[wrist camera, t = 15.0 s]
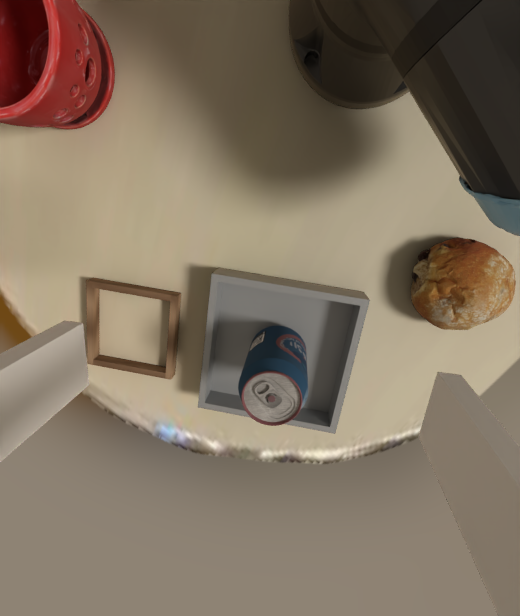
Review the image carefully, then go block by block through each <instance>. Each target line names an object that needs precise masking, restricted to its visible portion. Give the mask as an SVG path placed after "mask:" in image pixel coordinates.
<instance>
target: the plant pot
mask: <svg viewBox="0 0 520 616" xmlns="http://www.w3.org/2000/svg"><path fill="white" fill-rule="evenodd" d="M114 78H115V71H114V62H113V57H112V53H111V50H110V47H109V45H108V42H107V40H106V38H105V36H104V34H103V32H102V31H101V29H100V28H99V26H98V25H97V24H96V22H95V21H94V20H93V19H92V18H91V16H89V15H88V14H87V13H86V12H85V11H84V10H83V9H82V8H80V6H79V5H78V3H77V2H76V0H0V123H5V124H10V125H16V126H26V127H56V128H60V129H77V128H81V127H84V126H87V125H89V124H90V123H92V122H93V121H95V120H96V119H97V118H98V117H99V116H100V115H101V114H102V113H103V112H104V110H105V109H106V107H107V105H108V103H109V101H110V99H111V96H112V92H113V88H114Z"/></svg>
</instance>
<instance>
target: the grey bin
mask: <svg viewBox="0 0 520 616" xmlns="http://www.w3.org/2000/svg"><path fill="white" fill-rule="evenodd" d="M369 301H370V300H369V298H368V297H367V296H366V294H365V293H364V292H361V291H355V290H349V289H343V288H337V287H331V286H325V285H319V284H313V283H307V282H301V281H295V280H289V279H283V278H277V277H271V276H265V275H259V274H253V273H247V272H241V271H235V270H229V269H223V268H218V269H217V270H215V271H214V272H213V273H212V276H211V285H210V295H209V305H208V314H207V324H206V334H205V343H204V353H203V363H202V372H201V382H200V392H199V401H198V407H199V408H204V409H209V410H215V411H220V412H225V413H230V414H235V415H241V416H246V417H250V416H249V415H248V414H247V412H246V411H245V409H244V407H243V404H242V401H241V398H240V396H239V391H238V383H239V379H240V376H241V373H242V370H243V367H244V364H245V361H246V358H247V355H248V352H249V349H250V345H251V343H252V340H253V338H254V337H255V336H256V334H257V333H258V332H260V331H261V330H263V329H264V328H267V327H270V326H285V327H288V328H291V329H292V330H294V331H296V332H297V333H298V334H299V335H300V336H301V338H302V339H303V341H304V343H305V346H306V353H307V374H308V397H307V400H306V402H305V404H304V406H303V407H302V409H301V410H300V411H299V413H298V414H297V416H296V417H295V418H294V419H292V420H291V421H289V422H287V423H285V424H287V425H292V426H298V427H303V428H308V429H313V430H318V431H324V432H329V433H334V434H335V433H336V429H337V425H338V421H339V417H340V413H341V409H342V405H343V402H344V398H345V394H346V390H347V386H348V382H349V378H350V375H351V371H352V367H353V363H354V359H355V355H356V351H357V347H358V344H359V340H360V336H361V332H362V328H363V324H364V320H365V316H366V313H367V309H368V305H369Z"/></svg>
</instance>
